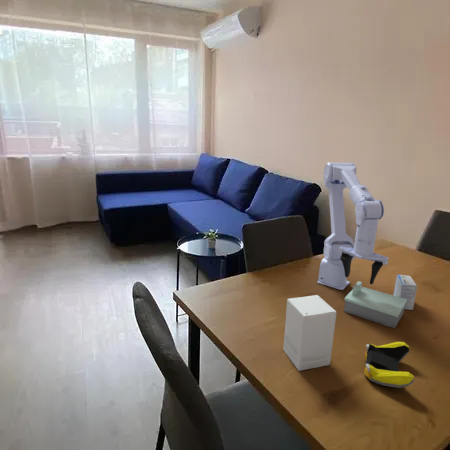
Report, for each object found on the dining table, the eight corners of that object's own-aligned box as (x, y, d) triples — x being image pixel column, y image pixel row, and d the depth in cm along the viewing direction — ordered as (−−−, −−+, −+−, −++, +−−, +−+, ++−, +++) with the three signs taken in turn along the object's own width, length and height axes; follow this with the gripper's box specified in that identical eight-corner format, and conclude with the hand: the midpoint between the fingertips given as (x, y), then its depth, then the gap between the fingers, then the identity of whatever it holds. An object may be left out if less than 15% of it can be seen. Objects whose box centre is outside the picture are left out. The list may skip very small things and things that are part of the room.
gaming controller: (406, 359, 93) (364, 350, 97) (409, 341, 92) (367, 332, 95) (411, 400, 80) (363, 387, 83) (416, 379, 78) (366, 367, 82)
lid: (343, 302, 114) (345, 289, 113) (356, 289, 123) (358, 276, 122) (397, 319, 105) (399, 305, 104) (406, 304, 114) (408, 290, 113)
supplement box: (331, 365, 90) (338, 311, 86) (298, 372, 87) (304, 316, 83) (312, 344, 98) (318, 293, 94) (282, 349, 96) (286, 297, 91)
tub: (344, 311, 115) (345, 300, 114) (355, 298, 123) (357, 287, 122) (394, 328, 106) (396, 316, 105) (403, 313, 115) (405, 301, 114)
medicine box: (413, 310, 117) (417, 286, 114) (398, 308, 118) (402, 284, 115) (406, 299, 124) (410, 275, 122) (392, 297, 125) (396, 274, 122)
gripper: (337, 237, 113) (332, 277, 117) (386, 248, 104) (379, 291, 108) (345, 231, 118) (340, 270, 122) (392, 241, 110) (385, 282, 114)
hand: (359, 279), depth 116 cm, fingers open, 7 cm apart
